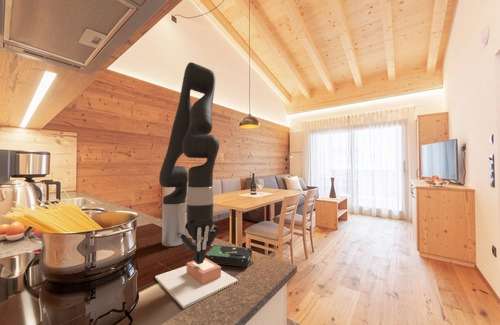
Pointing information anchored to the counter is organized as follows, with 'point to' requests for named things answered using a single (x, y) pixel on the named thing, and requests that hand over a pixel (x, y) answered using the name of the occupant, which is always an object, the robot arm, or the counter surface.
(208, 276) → the deck box
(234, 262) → the disk drive
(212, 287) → the mat
